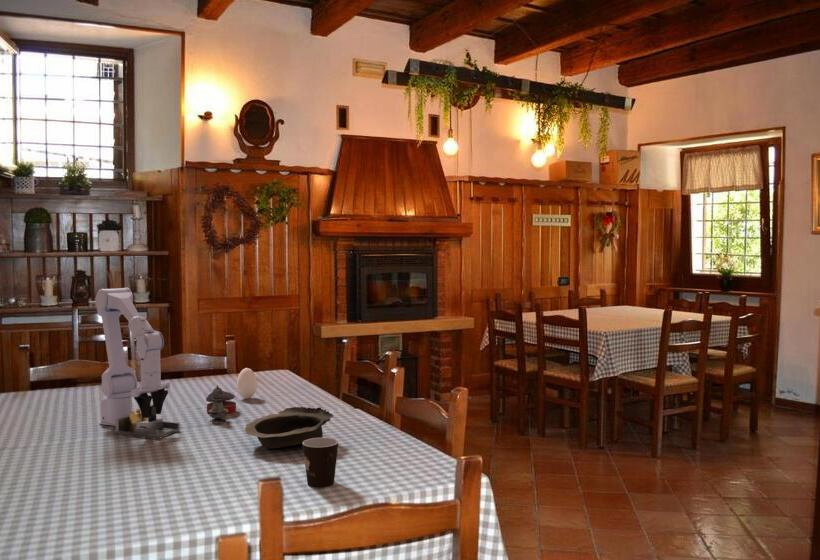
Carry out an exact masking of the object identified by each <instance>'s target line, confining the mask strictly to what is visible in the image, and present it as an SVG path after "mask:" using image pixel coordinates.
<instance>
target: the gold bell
mask: <svg viewBox="0 0 820 560" xmlns="http://www.w3.org/2000/svg"><path fill="white" fill-rule="evenodd" d="M144 419H148V418H143V417H142V414H141V410H140V408H136V409H135V410H134V411H133V410H132V412H130V430H135V428H136V422H138V421H141V420H144Z"/></svg>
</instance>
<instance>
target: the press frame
mask: <svg viewBox="0 0 820 560" xmlns="http://www.w3.org/2000/svg"><path fill="white" fill-rule="evenodd" d="M115 421H116V426H115V430H113V431H114V434H115V435H120V434H121V435H120V436H128V435H130V436H129V437H136V436H138V438H144V437H147V438H146V439H152V438H154V439H153V440H158V438H159V439H161V438H164V437H166V435H167V436H170V435H172V433H173V434H175V432H176V433H178V431H179V432H180V431H181V430H180V427H181V426H180V422H175V421H168V420H163V427H161V428H158V429H147V428H139V427H136V428H135V430H130V415H129V416H126V417H122V418H119V419H115ZM169 434H170V435H169ZM163 436H164V437H163ZM160 437H161V438H160Z"/></svg>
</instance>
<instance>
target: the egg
mask: <svg viewBox="0 0 820 560" xmlns="http://www.w3.org/2000/svg"><path fill="white" fill-rule="evenodd" d="M257 389H258V381H257V377H256V374H255V373H254V370H252V369H251V368H248V367H245V368H243V369H242V370H241V371H240V373H239V374H238V377H237V380H236V390H237V392H238V394H239V396H241V398H242V399H245V400H249V399H251V398H253V396H254V395H255V394H256V392H257Z"/></svg>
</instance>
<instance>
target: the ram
mask: <svg viewBox="0 0 820 560" xmlns="http://www.w3.org/2000/svg"><path fill="white" fill-rule="evenodd" d="M163 421H164V417H158V416H157V414H156V405H153V404H150V416H149V418H147V419H144V420H141V421H138V422H136V427H139V428H147V429H158V428H161V427H163Z"/></svg>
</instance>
